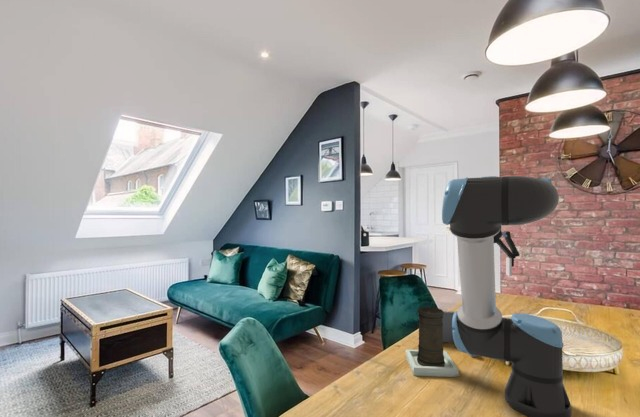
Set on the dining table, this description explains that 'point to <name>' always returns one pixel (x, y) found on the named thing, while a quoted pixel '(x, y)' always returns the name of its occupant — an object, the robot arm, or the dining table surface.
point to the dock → (448, 327)
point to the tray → (419, 370)
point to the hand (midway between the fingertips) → (489, 275)
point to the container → (430, 337)
